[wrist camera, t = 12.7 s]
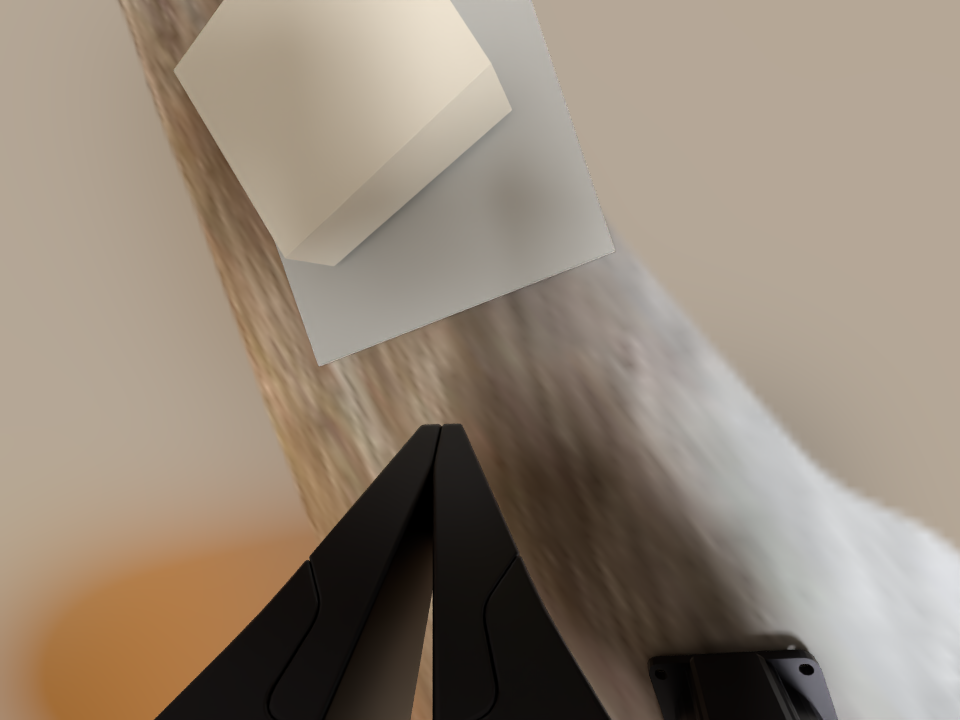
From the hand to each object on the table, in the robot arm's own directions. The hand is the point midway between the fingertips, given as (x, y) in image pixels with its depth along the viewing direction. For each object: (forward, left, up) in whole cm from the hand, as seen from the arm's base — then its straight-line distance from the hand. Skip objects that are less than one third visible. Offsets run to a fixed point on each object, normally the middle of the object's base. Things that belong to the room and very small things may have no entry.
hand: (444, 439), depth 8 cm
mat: (+13, +3, -10) cm, 16 cm away
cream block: (+9, +2, -8) cm, 12 cm away
